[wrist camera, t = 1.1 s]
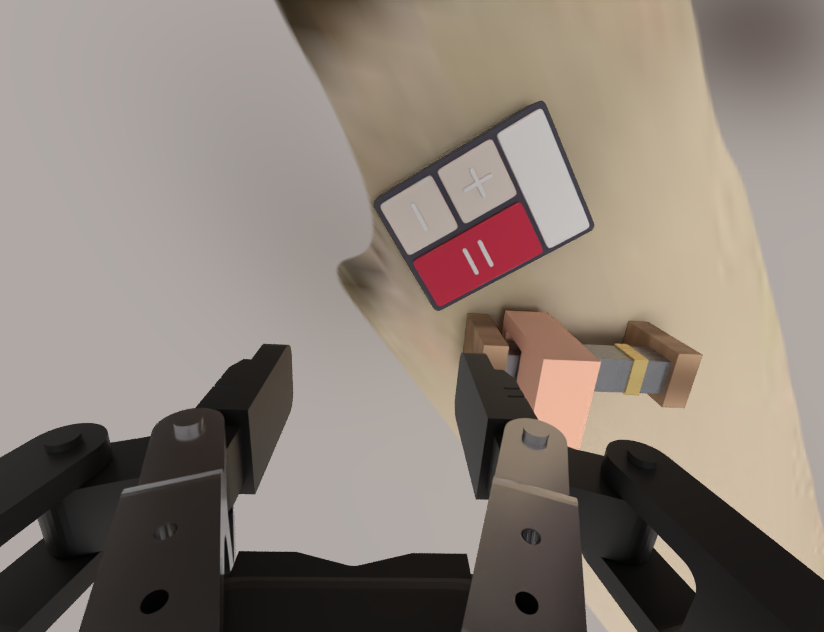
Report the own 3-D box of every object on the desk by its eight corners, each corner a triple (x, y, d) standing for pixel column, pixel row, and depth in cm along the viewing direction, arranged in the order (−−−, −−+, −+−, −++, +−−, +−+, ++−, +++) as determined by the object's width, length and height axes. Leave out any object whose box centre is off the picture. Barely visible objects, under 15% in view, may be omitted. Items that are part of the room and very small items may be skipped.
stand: (467, 313, 39) (483, 345, 32) (648, 322, 40) (702, 354, 33) (462, 360, 40) (476, 400, 33) (635, 367, 42) (684, 407, 35)
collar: (505, 310, 37) (543, 359, 27) (548, 312, 37) (601, 361, 28) (494, 380, 39) (526, 447, 30) (534, 382, 39) (579, 449, 30)
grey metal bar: (485, 337, 36) (494, 353, 32) (660, 345, 36) (684, 361, 33) (480, 371, 37) (488, 389, 34) (650, 378, 38) (673, 396, 35)
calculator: (369, 203, 32) (547, 96, 29) (374, 198, 36) (531, 103, 33) (436, 316, 35) (600, 230, 33) (434, 300, 39) (580, 222, 37)
